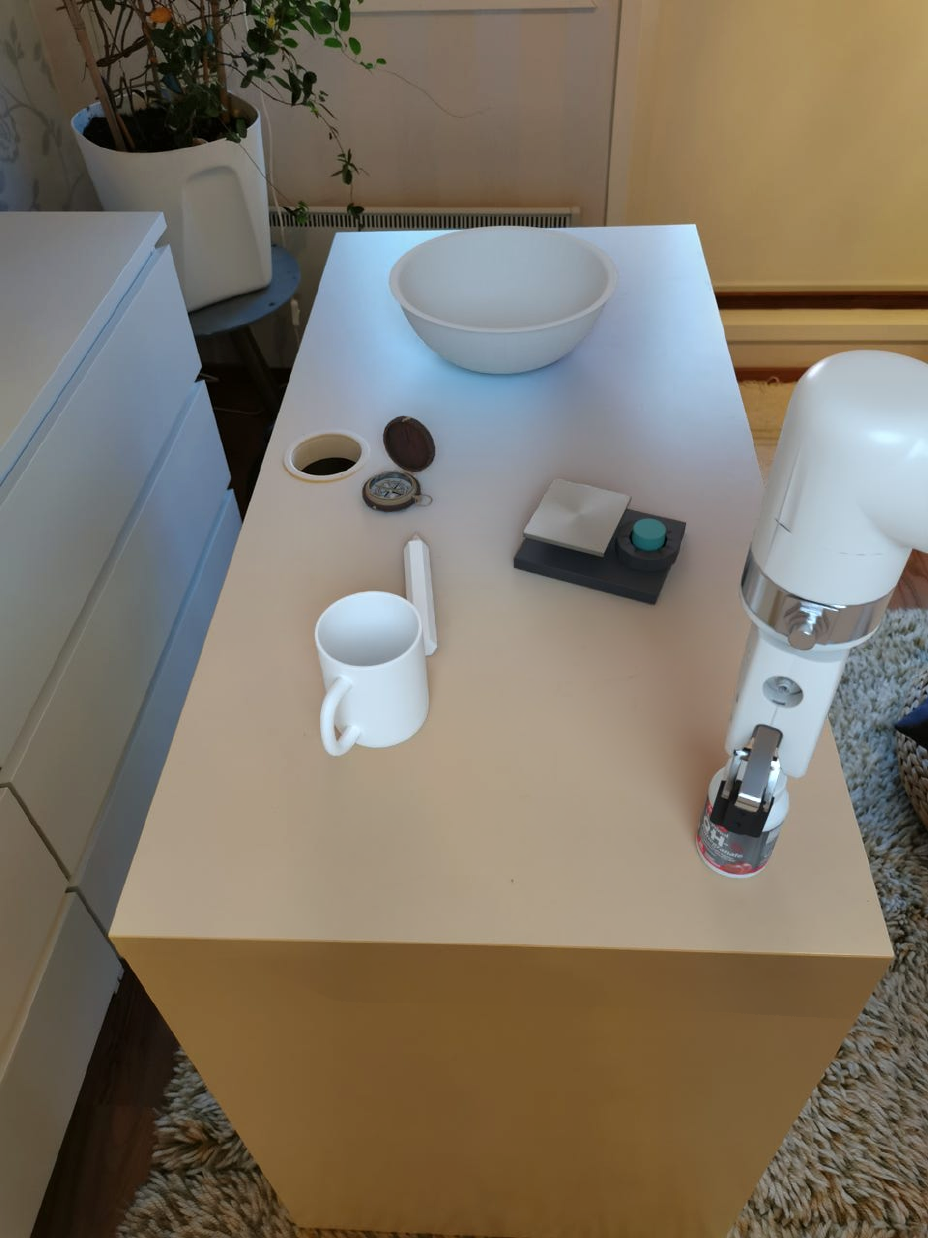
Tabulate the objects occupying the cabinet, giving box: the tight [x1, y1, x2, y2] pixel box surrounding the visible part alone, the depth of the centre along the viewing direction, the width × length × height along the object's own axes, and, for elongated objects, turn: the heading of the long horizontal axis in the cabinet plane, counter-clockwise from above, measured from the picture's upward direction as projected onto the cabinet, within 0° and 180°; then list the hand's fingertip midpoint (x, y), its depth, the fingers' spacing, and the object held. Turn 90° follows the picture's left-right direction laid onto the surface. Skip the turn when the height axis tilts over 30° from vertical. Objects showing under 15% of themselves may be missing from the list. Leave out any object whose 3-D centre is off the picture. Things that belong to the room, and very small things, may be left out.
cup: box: [314, 590, 430, 757], centre depth 75 cm, size 8×12×10 cm
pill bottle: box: [695, 747, 790, 879], centre depth 67 cm, size 5×5×10 cm
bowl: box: [388, 225, 619, 375], centre depth 117 cm, size 27×27×10 cm
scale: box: [513, 508, 687, 606], centre depth 92 cm, size 14×11×3 cm
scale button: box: [632, 519, 666, 551], centre depth 90 cm, size 3×3×2 cm
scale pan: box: [522, 477, 633, 557], centre depth 92 cm, size 8×9×1 cm
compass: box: [361, 415, 436, 513], centre depth 98 cm, size 8×8×7 cm
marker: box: [403, 531, 438, 657], centre depth 89 cm, size 3×2×16 cm
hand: (750, 768), depth 63 cm, fingers open, 9 cm apart
